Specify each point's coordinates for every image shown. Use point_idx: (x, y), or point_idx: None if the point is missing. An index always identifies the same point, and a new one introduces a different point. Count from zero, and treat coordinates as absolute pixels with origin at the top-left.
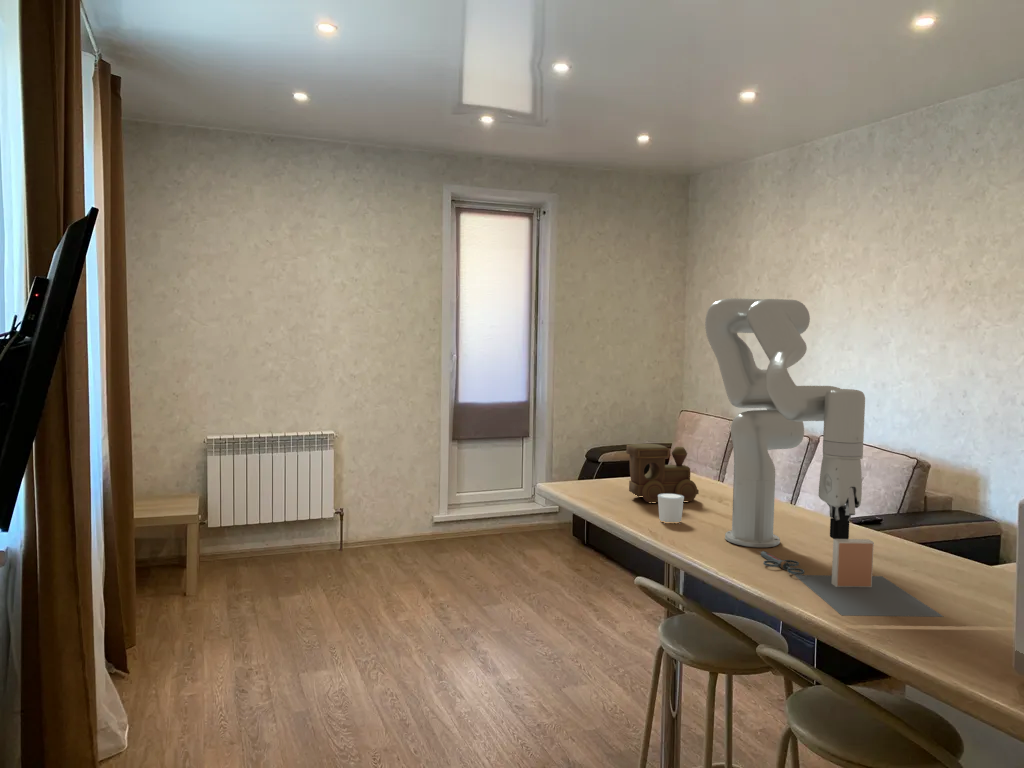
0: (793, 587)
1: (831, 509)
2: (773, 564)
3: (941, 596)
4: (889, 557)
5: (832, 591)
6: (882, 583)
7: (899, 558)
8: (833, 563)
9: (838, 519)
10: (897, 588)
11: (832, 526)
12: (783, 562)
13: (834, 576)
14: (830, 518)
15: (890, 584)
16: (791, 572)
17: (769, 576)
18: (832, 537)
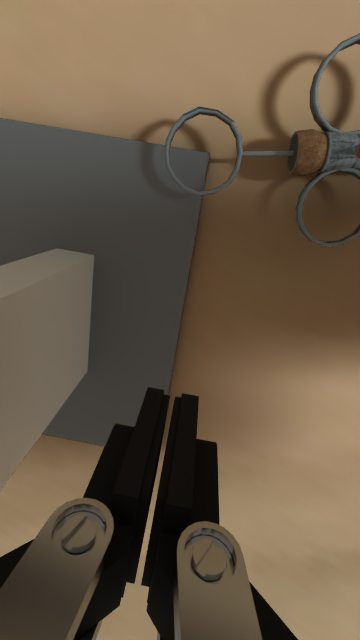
0: (84, 70)
1: (200, 638)
2: (318, 75)
3: (16, 489)
4: (335, 579)
5: (5, 202)
6: (89, 416)
7: (318, 593)
8: (45, 269)
9: (53, 520)
10: (46, 427)
11: (147, 443)
12: (307, 137)
13: (56, 257)
14: (189, 505)
15: (81, 431)
16: (183, 114)
17: (244, 22)
18: (156, 389)
